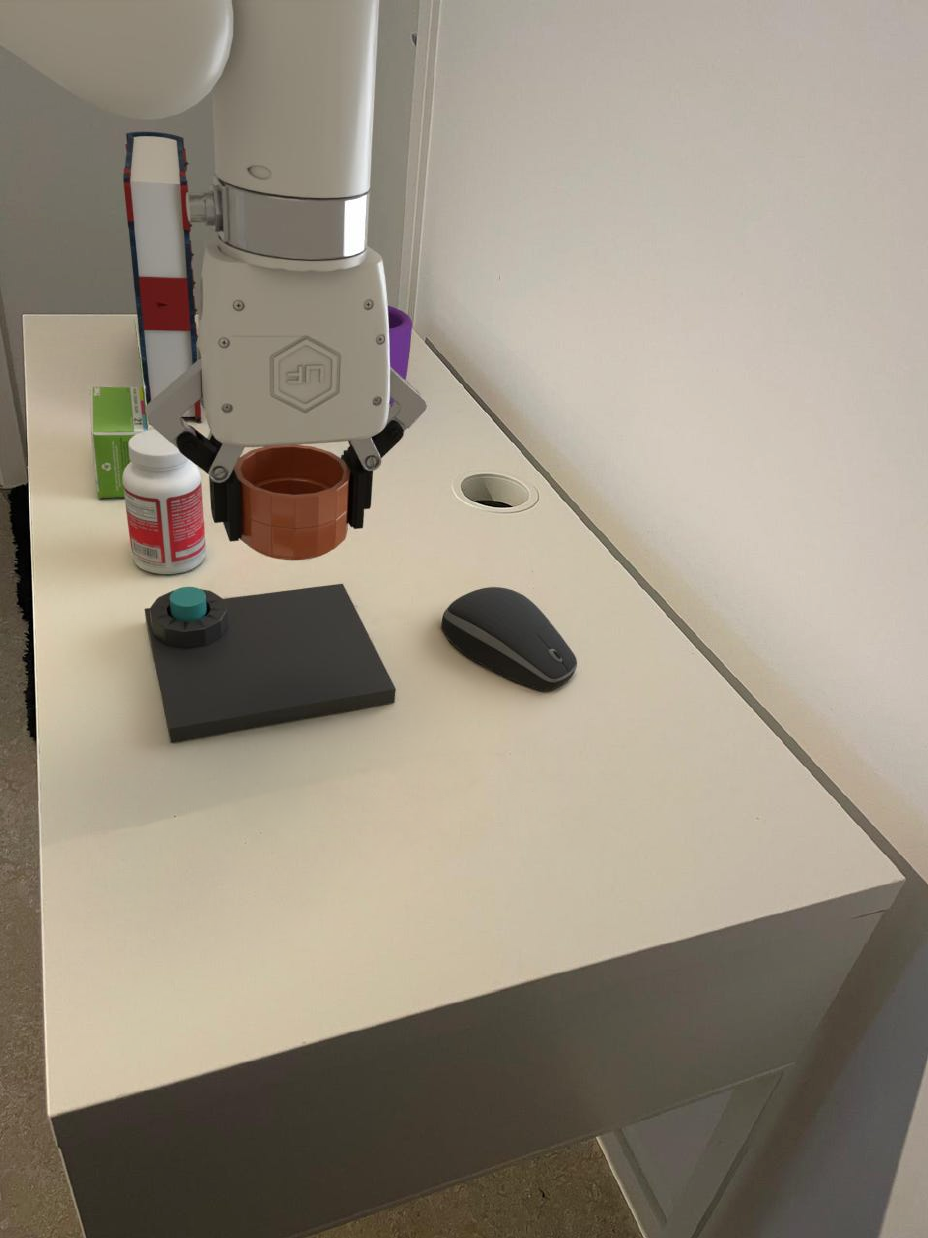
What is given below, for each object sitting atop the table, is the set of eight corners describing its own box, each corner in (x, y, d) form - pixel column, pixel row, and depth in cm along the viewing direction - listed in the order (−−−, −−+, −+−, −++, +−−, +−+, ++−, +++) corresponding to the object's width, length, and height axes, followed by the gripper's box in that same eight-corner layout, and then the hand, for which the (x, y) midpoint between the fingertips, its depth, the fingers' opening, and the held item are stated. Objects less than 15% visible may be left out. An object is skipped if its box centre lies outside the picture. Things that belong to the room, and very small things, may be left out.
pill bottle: (206, 538, 82) (199, 425, 75) (206, 576, 77) (199, 459, 71) (133, 539, 80) (120, 424, 74) (129, 578, 76) (115, 458, 69)
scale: (170, 743, 61) (167, 710, 59) (145, 622, 71) (142, 591, 69) (394, 703, 67) (397, 672, 65) (342, 596, 77) (343, 567, 75)
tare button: (173, 625, 67) (172, 608, 66) (168, 605, 69) (167, 588, 68) (209, 620, 68) (208, 603, 67) (203, 600, 70) (202, 584, 69)
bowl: (248, 570, 53) (246, 502, 50) (227, 513, 58) (224, 447, 55) (360, 558, 55) (363, 492, 53) (331, 503, 60) (333, 440, 58)
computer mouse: (540, 705, 69) (549, 664, 66) (422, 630, 74) (427, 591, 72) (591, 666, 73) (601, 627, 71) (476, 599, 79) (482, 560, 77)
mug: (419, 411, 110) (427, 330, 104) (329, 417, 106) (332, 333, 100) (372, 358, 122) (376, 283, 116) (290, 362, 118) (290, 284, 112)
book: (144, 341, 118) (123, 127, 103) (199, 341, 120) (186, 132, 105) (142, 423, 99) (116, 176, 84) (208, 423, 101) (193, 181, 86)
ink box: (97, 451, 93) (78, 315, 84) (151, 449, 94) (138, 315, 86) (97, 500, 85) (77, 356, 77) (157, 498, 86) (143, 356, 78)
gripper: (119, 237, 40) (154, 572, 50) (478, 244, 46) (443, 541, 57) (105, 196, 45) (139, 506, 56) (428, 207, 52) (404, 484, 62)
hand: (292, 521), depth 56 cm, fingers closed on bowl, 6 cm apart
